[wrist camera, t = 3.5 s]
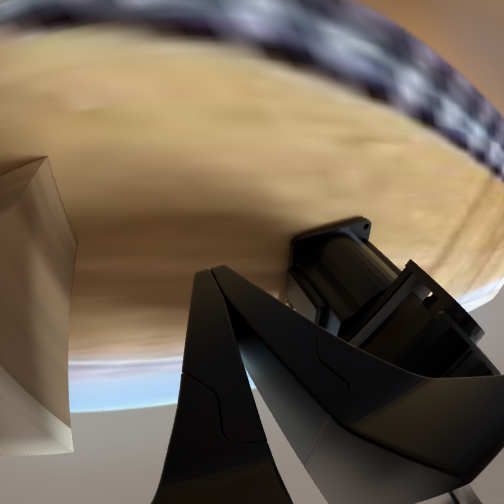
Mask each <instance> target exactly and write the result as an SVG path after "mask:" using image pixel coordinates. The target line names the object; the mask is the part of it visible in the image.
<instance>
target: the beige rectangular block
mask: <svg viewBox="0 0 504 504" xmlns="http://www.w3.org/2000/svg"><path fill="white" fill-rule="evenodd" d="M77 244H78V243H77V241H76V238H75V236H74V233H73V231H72V228H71V225H70V223H69V220H68V217H67V215H66V212H65V209H64V206H63V203H62V201H61V198H60V195H59V192H58V189H57V186H56V182H55V179H54V176H53V173H52V169H51V166H50V163H49V159H48V156H47V157H44V158H41V159H39V160H36V161H33V162H31V163H28V164H26V165H23V166H21V167H18V168H16V169H13V170H11V171H9V172H6V173H4V174H2V175H0V456H30V455H47V454H59V453H68V452H74V451H73V443H72V435H71V423H70V411H69V392H68V334H69V315H70V301H71V290H72V281H73V272H74V264H75V257H76V250H77Z"/></svg>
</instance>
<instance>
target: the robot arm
mask: <svg viewBox="0 0 504 504" xmlns="http://www.w3.org/2000/svg"><path fill="white" fill-rule="evenodd" d="M370 229H371V221H369V220H368V219H367V218H362V219H359V220H355V221H351V222H347V223H344V224H340V225H336V226H333V227H329V228H325V229H321V230H318V231H314V232H310V233H307V234H303V235H299V236H296V237H294V238H293V239H292V241H291V244H290V262H289V268H288V270H287V284H286V296H287V298H288V299H287V304H288V306H287V305H286V304H284V303H283V302H281V301H280V300H278V299H277V298H275V297H274V296H272V295H270V294H269V293H267V292H266V291H264V290H263V289H261V288H260V287H258V286H257V285H255V284H254V283H252V282H250V281H249V280H247V279H246V278H244V277H243V276H241V275H240V274H238V273H237V272H235V271H234V270H232V269H231V268H229V267H228V266H226V265H221V266H217V267H213V268H211V270H209V269H206V270H202V271H199V272H196V273H195V275H194V282H193V289H192V295H191V302H190V310H189V317H188V324H187V332H186V340H185V348H184V356H183V365H182V374H181V382H180V390H179V397H178V404H177V410H176V415H175V419H174V424H173V429H172V433H171V437H170V441H169V445H168V450H167V454H166V458H165V462H164V466H163V471H162V475H161V479H160V482H159V485H158V488H157V491H156V494H155V496H154V498H153V500H152V502H151V504H293V502H292V500H291V497H290V495H289V493H288V491H287V489H286V487H285V485H284V483H283V480H282V478H281V476H280V474H279V472H278V469H277V467H276V464H275V462H274V459H273V456H272V453H271V451H270V448H269V445H268V443H267V438H266V435H265V432H264V429H263V426H262V423H261V420H260V416H259V414H258V410H257V407H256V404H255V400H254V397H253V394H252V390H251V387H250V384H249V381H248V377H247V374H246V370H247V371H248V373H249V375H250V377H251V379H252V380H253V382H254V384H255V386H256V387H257V389H258V391H259V393H260V394H261V396H262V398H263V400H264V401H265V403H266V405H267V407H268V408H269V410H270V411H271V413H272V415H273V417H274V418H275V420H276V422H277V423H278V425H279V427H280V428H281V430H282V432H283V433H284V435H285V436H286V438H287V440H288V441H289V443H290V445H291V446H292V448H293V450H294V451H295V453H296V454H297V456H298V458H299V459H300V461H301V462H302V464H303V465H304V467H305V469H306V470H307V472H308V474H309V475H310V477H311V478H312V480H313V481H314V483H315V484H316V486H317V487H318V489H319V490H320V492H321V493H322V495H323V496H324V498H325V499H326V501H327V502H328V504H504V375H501V374H500V372H499V371H498V369H497V368H496V367H495V366H494V364H493V363H492V362H491V361H490V360H489V358H488V357H487V356H486V355H485V354H484V352H483V351H482V350H481V349H480V348H479V347H478V345H477V343H478V341H479V340H480V339H481V338H482V337H483V335H484V334H485V332H484V331H483V330H482V328H481V327H480V326H479V325H478V324H477V323H476V321H475V320H474V319H473V318H472V317H471V316H470V315H469V314H468V313H467V312H466V311H465V309H464V308H463V307H462V306H461V305H460V304H459V303H458V302H457V301H456V300H455V299H454V298H453V297H452V296H451V295H449V294H448V293H447V292H446V291H445V290H444V289H443V288H442V287H441V286H440V285H439V284H438V283H437V282H436V281H435V280H433V279H432V278H431V277H430V276H429V275H428V274H427V273H426V272H425V271H423V270H422V269H421V268H420V267H419V266H418V265H417V264H416V263H414V262H413V261H412V260H411V259H410V260H409V261H408V262H407V264H406V265H405V268H404V270H403V271H401V270H400V269H399V268H397V267H396V266H395V265H394V264H393V263H392V262H391V261H390V260H389V259H388V258H387V257H386V256H385V255H384V254H383V253H382V252H380V251H379V250H378V249H377V248H376V247H375V246H374V245H373V244H372V243H371V242H369V241H368V239H369V234H370ZM298 243H300V244H299V245H298ZM430 292H432V293H433V294H432V295H431V296H429V297H427V296H428V295H429V294H430ZM294 309H295V310H296V311H295V310H294ZM244 366H245V367H244ZM245 368H246V370H245Z"/></svg>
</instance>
